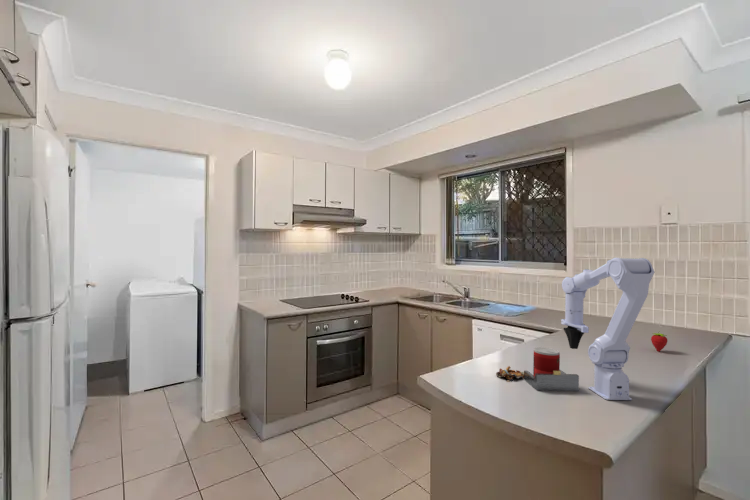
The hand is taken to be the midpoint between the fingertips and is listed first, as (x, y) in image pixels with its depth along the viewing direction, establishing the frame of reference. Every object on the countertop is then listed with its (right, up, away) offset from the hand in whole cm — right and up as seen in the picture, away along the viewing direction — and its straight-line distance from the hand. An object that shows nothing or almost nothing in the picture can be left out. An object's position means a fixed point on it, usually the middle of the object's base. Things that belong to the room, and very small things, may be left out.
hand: (573, 348), depth 129 cm
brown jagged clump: (-23, -10, -2) cm, 25 cm away
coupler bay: (-13, -10, -7) cm, 18 cm away
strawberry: (+58, -11, +34) cm, 68 cm away
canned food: (-13, -10, -7) cm, 18 cm away
